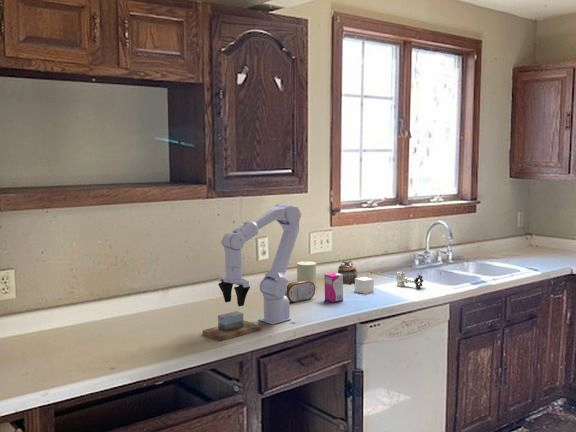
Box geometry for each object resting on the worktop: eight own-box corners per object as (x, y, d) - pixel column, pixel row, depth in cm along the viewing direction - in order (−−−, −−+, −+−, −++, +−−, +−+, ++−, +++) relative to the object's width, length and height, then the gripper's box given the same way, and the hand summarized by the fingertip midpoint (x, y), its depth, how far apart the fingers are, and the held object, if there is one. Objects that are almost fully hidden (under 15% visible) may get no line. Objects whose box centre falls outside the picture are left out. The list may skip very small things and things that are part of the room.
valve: (393, 286, 274) (416, 290, 267) (393, 272, 274) (416, 276, 266) (400, 284, 279) (423, 287, 272) (400, 270, 279) (423, 273, 271)
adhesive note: (373, 292, 264) (373, 279, 263) (363, 294, 260) (363, 280, 260) (364, 289, 269) (365, 276, 268) (354, 291, 265) (354, 278, 265)
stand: (243, 324, 215) (243, 320, 215) (260, 330, 208) (260, 325, 207) (202, 334, 203) (202, 330, 203) (219, 341, 196) (219, 336, 195)
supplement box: (334, 298, 252) (334, 272, 251) (343, 301, 247) (343, 274, 246) (324, 300, 249) (324, 273, 248) (332, 303, 244) (332, 276, 243)
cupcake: (338, 283, 280) (338, 263, 279) (337, 279, 290) (337, 259, 289) (358, 283, 280) (358, 263, 279) (356, 279, 290) (356, 259, 289)
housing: (218, 329, 204) (218, 315, 203) (236, 324, 209) (236, 311, 208) (225, 331, 201) (224, 317, 200) (243, 327, 206) (243, 313, 205)
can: (314, 284, 279) (314, 260, 277) (318, 289, 270) (318, 263, 268) (295, 285, 277) (295, 260, 276) (298, 289, 268) (298, 264, 267)
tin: (312, 297, 255) (311, 278, 254) (316, 298, 252) (316, 279, 251) (284, 302, 246) (283, 283, 245) (288, 304, 243) (288, 284, 242)
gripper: (212, 265, 209) (213, 302, 210) (237, 270, 198) (238, 309, 200) (228, 262, 214) (228, 298, 215) (253, 267, 203) (254, 305, 205)
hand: (234, 303), depth 208 cm, fingers open, 7 cm apart
